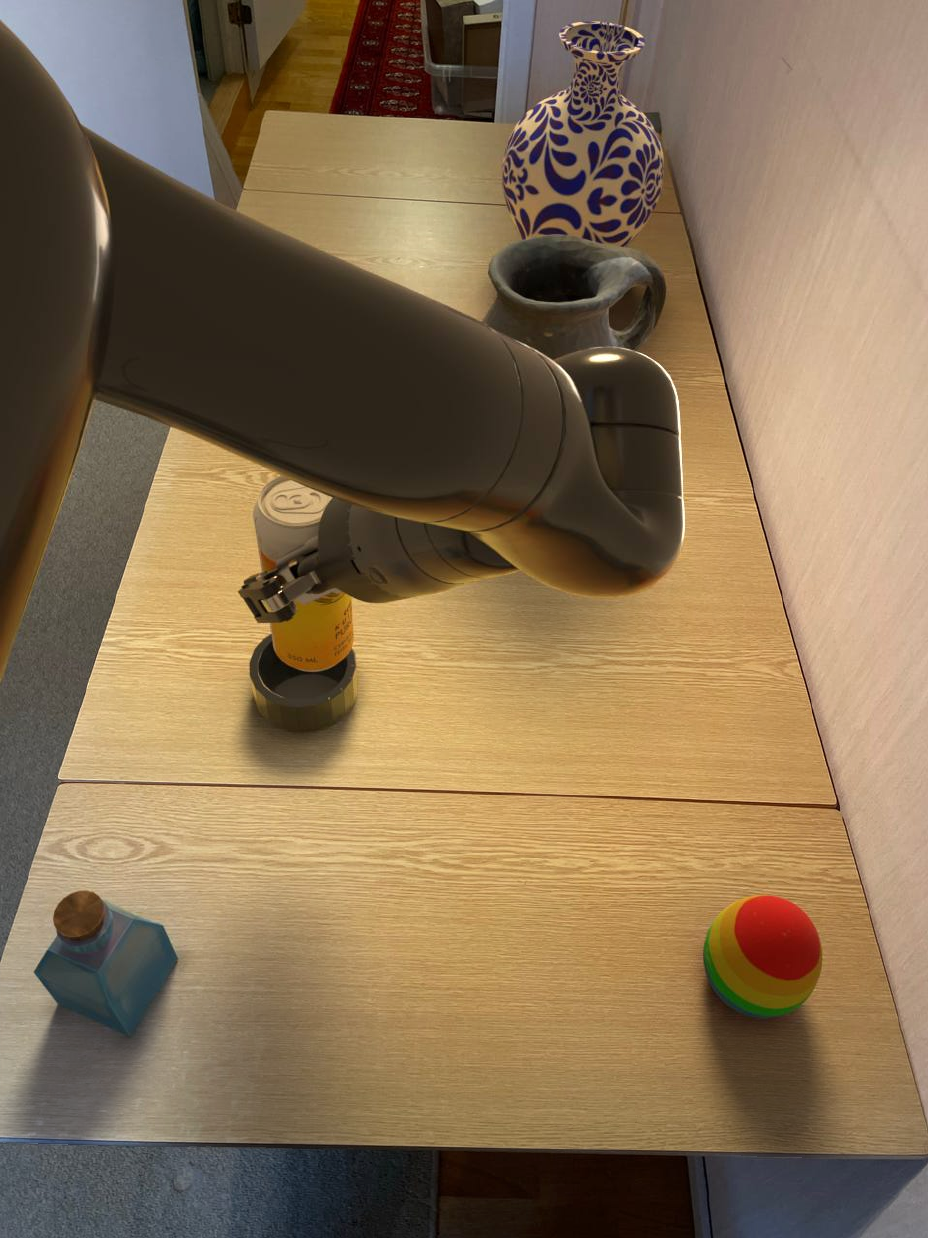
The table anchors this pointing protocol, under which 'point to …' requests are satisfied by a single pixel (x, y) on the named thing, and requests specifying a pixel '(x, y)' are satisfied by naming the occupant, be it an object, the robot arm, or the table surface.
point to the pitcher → (571, 293)
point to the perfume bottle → (105, 961)
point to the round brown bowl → (301, 690)
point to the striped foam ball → (763, 956)
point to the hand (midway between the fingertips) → (291, 567)
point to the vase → (586, 149)
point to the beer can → (280, 528)
